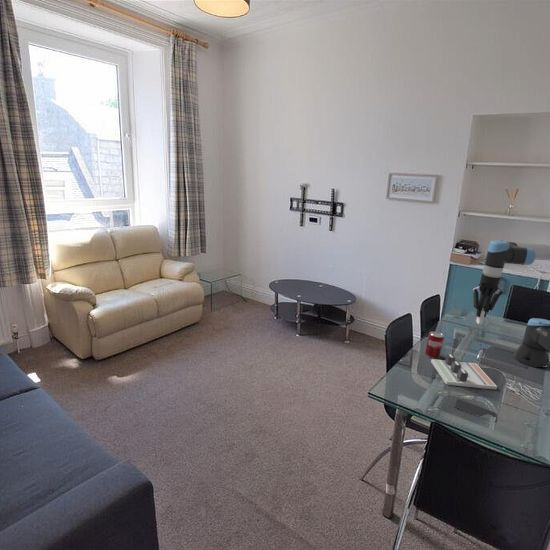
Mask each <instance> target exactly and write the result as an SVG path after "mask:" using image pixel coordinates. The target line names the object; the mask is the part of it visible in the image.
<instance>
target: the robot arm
mask: <svg viewBox="0 0 550 550" xmlns="http://www.w3.org/2000/svg"><path fill="white" fill-rule="evenodd" d="M486 252H487V253H486V257H485V260H484V265H483V267H482V268H483V269H482V274H481V277H480V281H479V284H478V285H477V286H476V287H472V288H471V289H472V293H473V308H475V309H476V313H475V316H476V320H475V322H476V323H477V324H478V325H481V326H482V325H483V322H484V318H486V317H487V313H489V311H493V309H494V307H495V306H496V303H497V302H498V300H499V298H500V297H501V296H502V295H503V291H502V290H501V289H500V288H499V285H500V282H501V277H502V274H503V272H504V267H505V264H507V265H509V264H510V265H521V266H530V265H532V264H533V263H534V262H535V260H537V261H550V244H545V243H544V244H543V243H530V242H529V243H528V242H515V241H514V242H513V241H504V240H501V239H496V240H495V239H494V240H491V241H490V242H489V245H488V248H487V251H486ZM479 292H480V294H479ZM549 354H550V320H548V319H545V318H538V317H537V318H535V317H532V318H530V319H529V320H528V322H527V324H526V327H525V331H524V335H523V337H522V341H521V343H520V345H519V346H518V348H517V349H516V350H515V351H514V353H513V357H514V359H515V360H516V361H518V362H520V363H521V362H522V363H521V364H524V365H527V366H529V367H532V366H534V367H533V368H536V367H543V366H546V365H548V366H549V364H550V357H549Z"/></svg>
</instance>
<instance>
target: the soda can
mask: <svg viewBox="0 0 550 550" xmlns="http://www.w3.org/2000/svg"><path fill="white" fill-rule="evenodd" d="M444 340H445V335H444V334H443V333H441V332H439V331H430V332H429V333H428V336H427V341H426V346H425V350H424V354H425V356H427V357H428V358H431V359H436V360H437V359H439V358H440V357H441V354H442V348H443V345H444Z"/></svg>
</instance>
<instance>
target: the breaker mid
mask: <svg viewBox="0 0 550 550" xmlns="http://www.w3.org/2000/svg"><path fill="white" fill-rule="evenodd" d="M459 362H460V361H456V362H452V365H451V370H452V372H453V373H458V370H460V369H461V364H460V363H459Z"/></svg>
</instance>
